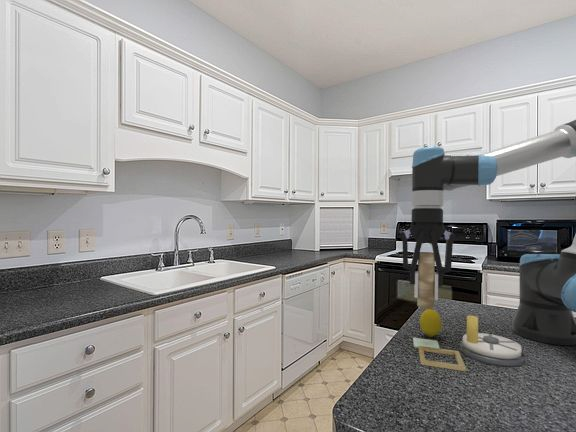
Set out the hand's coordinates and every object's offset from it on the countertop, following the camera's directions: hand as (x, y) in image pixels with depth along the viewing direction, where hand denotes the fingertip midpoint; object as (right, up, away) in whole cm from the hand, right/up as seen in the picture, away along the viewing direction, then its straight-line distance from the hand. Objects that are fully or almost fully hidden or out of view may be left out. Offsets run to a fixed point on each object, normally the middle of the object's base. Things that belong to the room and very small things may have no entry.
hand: (425, 297), depth 82 cm
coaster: (0, -12, 0) cm, 12 cm away
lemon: (+4, -13, +5) cm, 14 cm away
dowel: (0, -2, 0) cm, 2 cm away
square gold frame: (0, -12, -8) cm, 15 cm away
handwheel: (+14, -11, -5) cm, 18 cm away
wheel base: (+14, -12, -5) cm, 19 cm away
